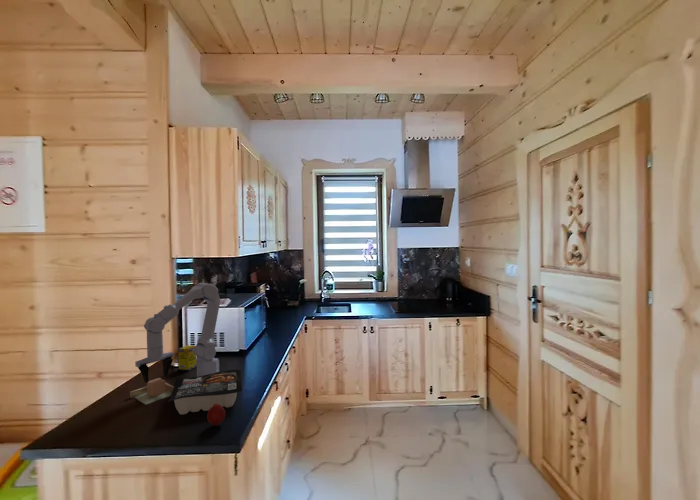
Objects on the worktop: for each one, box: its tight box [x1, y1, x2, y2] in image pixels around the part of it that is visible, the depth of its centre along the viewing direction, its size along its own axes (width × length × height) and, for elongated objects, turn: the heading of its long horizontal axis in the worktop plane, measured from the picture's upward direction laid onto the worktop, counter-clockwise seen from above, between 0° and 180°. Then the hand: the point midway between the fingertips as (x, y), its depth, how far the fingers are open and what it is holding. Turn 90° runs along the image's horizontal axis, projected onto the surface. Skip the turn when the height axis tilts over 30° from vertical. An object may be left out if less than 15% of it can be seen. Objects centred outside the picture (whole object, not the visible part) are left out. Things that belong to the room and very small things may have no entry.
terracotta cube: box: [146, 377, 166, 397], centre depth 143 cm, size 5×5×5 cm
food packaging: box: [167, 369, 243, 416], centre depth 136 cm, size 25×8×23 cm
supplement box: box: [177, 344, 197, 372], centre depth 170 cm, size 6×6×11 cm
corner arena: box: [129, 381, 174, 406], centre depth 141 cm, size 13×13×2 cm
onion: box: [206, 403, 226, 427], centre depth 117 cm, size 6×6×8 cm
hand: (156, 378), depth 143 cm, fingers open, 7 cm apart
